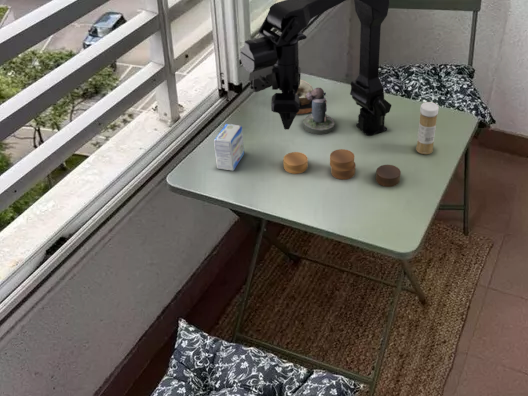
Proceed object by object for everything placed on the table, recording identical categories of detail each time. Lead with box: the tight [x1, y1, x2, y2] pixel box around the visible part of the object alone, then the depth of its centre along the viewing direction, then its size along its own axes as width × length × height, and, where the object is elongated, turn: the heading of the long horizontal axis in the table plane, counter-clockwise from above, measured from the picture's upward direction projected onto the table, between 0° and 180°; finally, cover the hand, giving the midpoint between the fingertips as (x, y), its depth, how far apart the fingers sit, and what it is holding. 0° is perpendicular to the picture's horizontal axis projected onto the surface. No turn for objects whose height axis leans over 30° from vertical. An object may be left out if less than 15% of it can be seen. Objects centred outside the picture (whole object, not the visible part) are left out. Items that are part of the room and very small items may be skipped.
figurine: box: [302, 87, 335, 135], centre depth 183 cm, size 8×8×12 cm
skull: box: [296, 78, 314, 115], centre depth 194 cm, size 12×10×10 cm
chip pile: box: [329, 148, 356, 181], centre depth 168 cm, size 6×6×5 cm
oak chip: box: [282, 151, 309, 175], centre depth 170 cm, size 6×6×2 cm
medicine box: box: [213, 123, 245, 172], centre depth 169 cm, size 8×4×9 cm, turn 169°
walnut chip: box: [375, 164, 402, 188], centre depth 168 cm, size 6×6×2 cm
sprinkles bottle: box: [415, 101, 439, 155], centre depth 176 cm, size 5×5×13 cm
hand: (287, 119), depth 165 cm, fingers open, 9 cm apart
